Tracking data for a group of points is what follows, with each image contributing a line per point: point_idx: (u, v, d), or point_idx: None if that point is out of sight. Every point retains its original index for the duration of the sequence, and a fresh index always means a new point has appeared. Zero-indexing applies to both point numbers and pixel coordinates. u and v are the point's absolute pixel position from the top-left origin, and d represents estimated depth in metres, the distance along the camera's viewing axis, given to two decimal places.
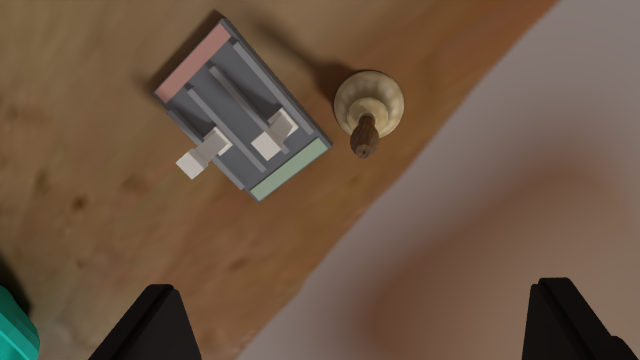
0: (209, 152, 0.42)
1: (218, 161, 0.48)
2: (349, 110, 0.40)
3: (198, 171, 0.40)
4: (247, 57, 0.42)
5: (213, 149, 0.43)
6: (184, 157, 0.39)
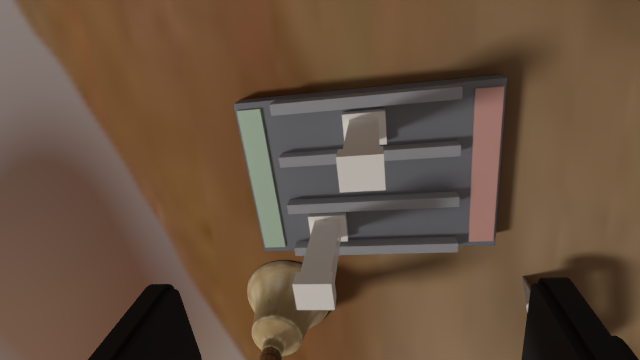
0: None
1: (335, 107, 0.26)
2: (296, 328, 0.31)
3: (342, 179, 0.20)
4: (433, 250, 0.30)
5: None
6: (381, 177, 0.19)
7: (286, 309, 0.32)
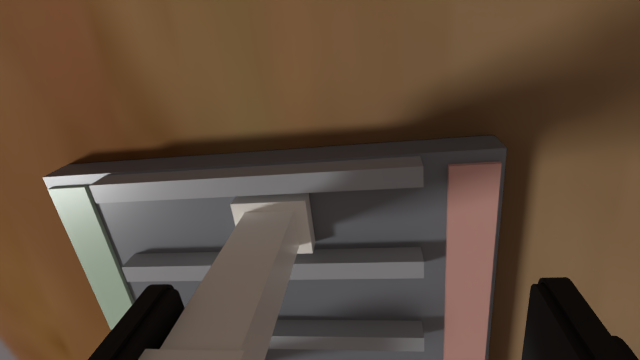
0: None
1: (200, 193, 0.15)
2: None
3: None
4: None
5: None
6: None
7: None
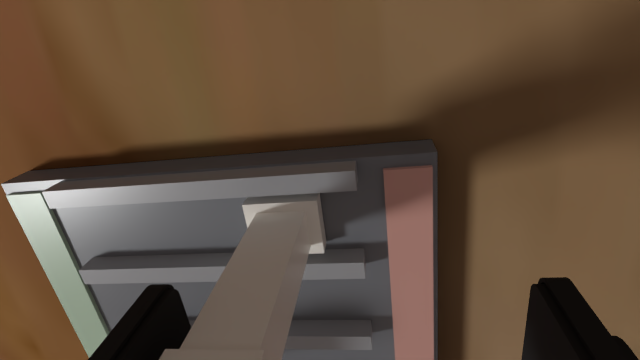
0: None
1: (147, 198, 0.15)
2: None
3: None
4: None
5: None
6: None
7: None
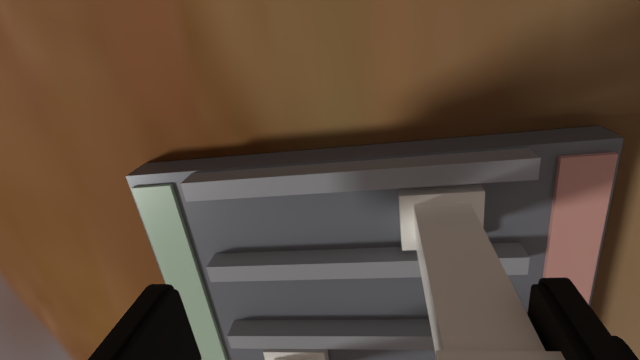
0: None
1: (298, 189, 0.14)
2: None
3: None
4: None
5: None
6: None
7: None
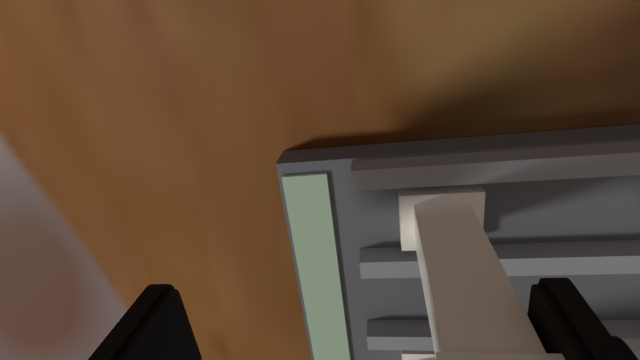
0: None
1: (485, 177, 0.13)
2: None
3: None
4: None
5: None
6: None
7: None
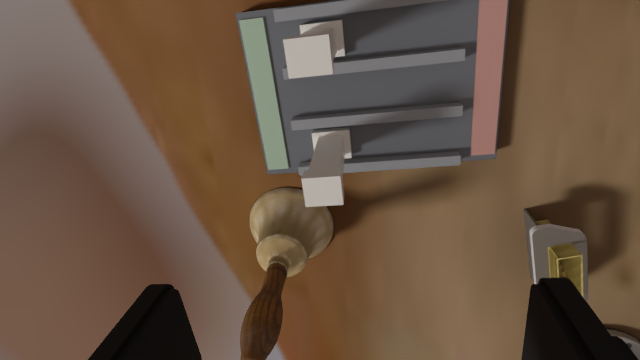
0: None
1: (339, 10, 0.26)
2: (301, 247, 0.31)
3: (290, 64, 0.20)
4: (436, 163, 0.30)
5: None
6: (327, 60, 0.20)
7: (290, 229, 0.32)
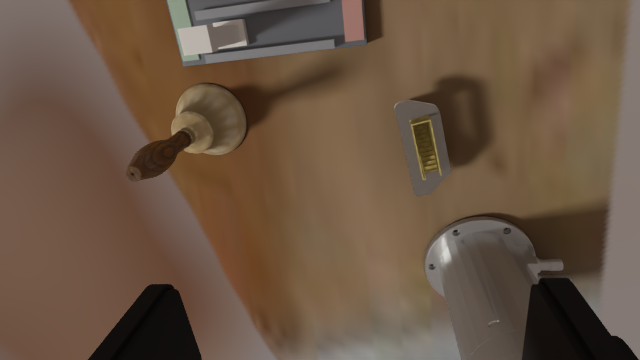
0: None
1: None
2: (206, 122, 0.37)
3: None
4: (315, 47, 0.36)
5: None
6: None
7: (199, 110, 0.38)
